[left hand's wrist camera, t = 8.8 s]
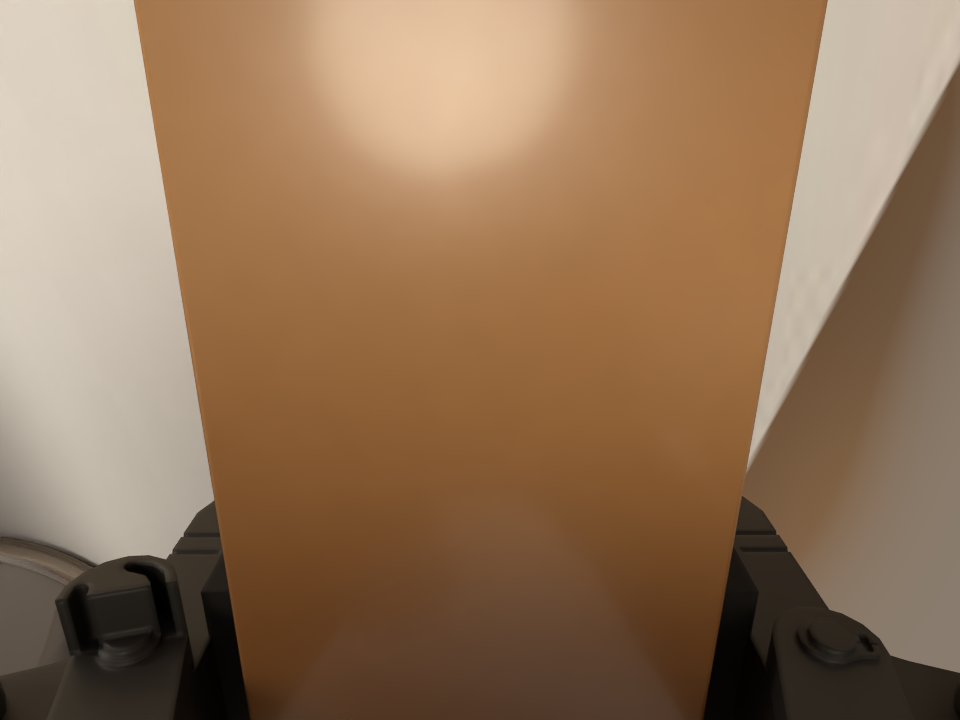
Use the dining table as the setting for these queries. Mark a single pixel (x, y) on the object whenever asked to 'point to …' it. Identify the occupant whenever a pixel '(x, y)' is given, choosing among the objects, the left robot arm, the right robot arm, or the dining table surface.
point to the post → (478, 334)
